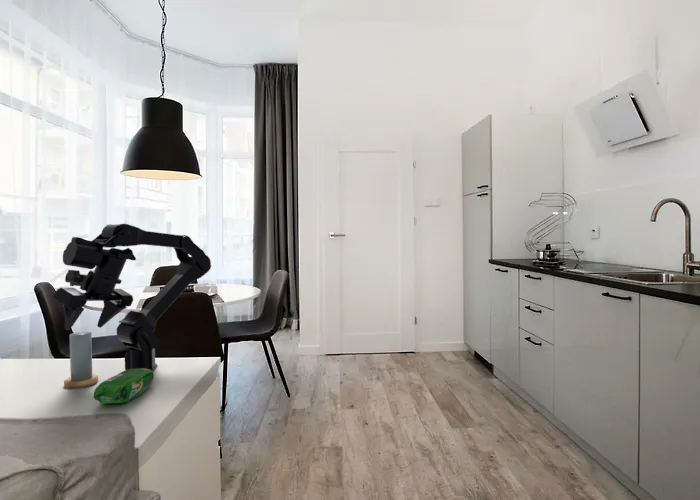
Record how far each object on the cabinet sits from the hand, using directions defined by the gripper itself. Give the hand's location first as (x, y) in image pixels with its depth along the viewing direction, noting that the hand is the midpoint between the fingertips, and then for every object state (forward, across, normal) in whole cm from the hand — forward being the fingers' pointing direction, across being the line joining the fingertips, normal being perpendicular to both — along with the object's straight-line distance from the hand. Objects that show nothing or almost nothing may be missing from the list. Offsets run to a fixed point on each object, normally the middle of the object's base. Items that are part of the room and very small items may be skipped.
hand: (83, 328), depth 107 cm
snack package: (+5, +5, +24) cm, 25 cm away
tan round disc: (+11, +1, +7) cm, 13 cm away
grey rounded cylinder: (+10, +1, +7) cm, 12 cm away
